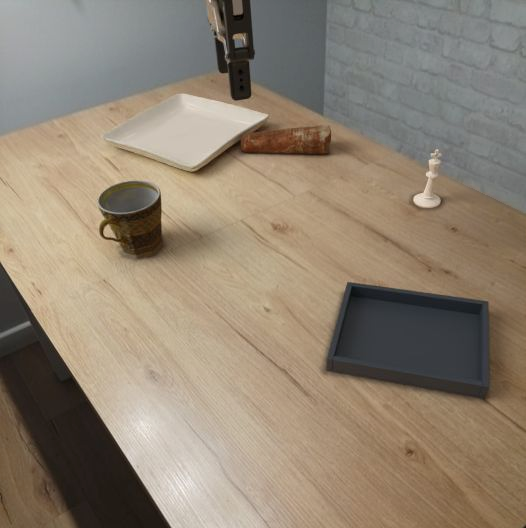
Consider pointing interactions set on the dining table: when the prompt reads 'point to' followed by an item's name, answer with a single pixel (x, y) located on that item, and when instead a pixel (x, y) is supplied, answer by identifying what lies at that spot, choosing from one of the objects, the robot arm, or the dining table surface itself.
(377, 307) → the tray
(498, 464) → the dining table surface
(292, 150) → the rusty brown tapered cylinder
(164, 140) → the square plate
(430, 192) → the chess piece
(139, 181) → the ceramic cup
